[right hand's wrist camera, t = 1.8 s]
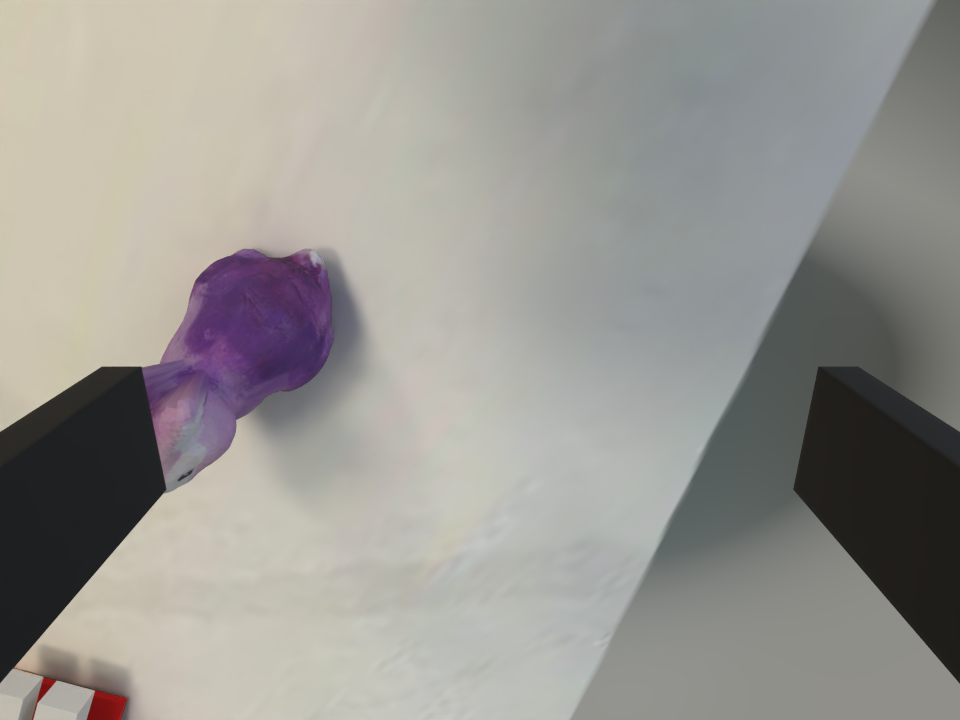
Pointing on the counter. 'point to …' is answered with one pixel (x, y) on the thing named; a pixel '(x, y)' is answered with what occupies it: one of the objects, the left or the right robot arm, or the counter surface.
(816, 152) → the counter surface
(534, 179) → the counter surface
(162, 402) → the figurine
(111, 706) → the toy
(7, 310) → the counter surface
